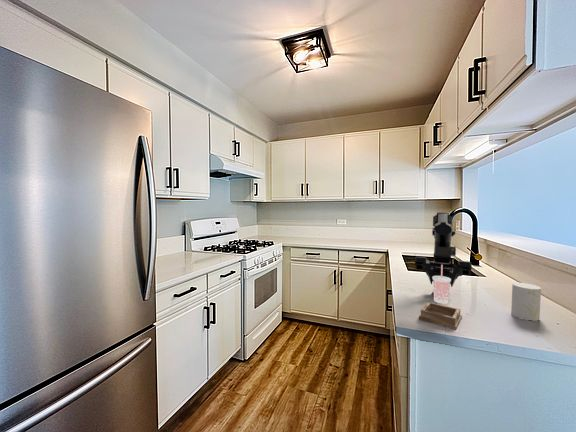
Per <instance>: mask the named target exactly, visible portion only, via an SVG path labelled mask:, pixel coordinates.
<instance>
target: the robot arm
mask: <svg viewBox="0 0 576 432" xmlns="http://www.w3.org/2000/svg"><path fill="white" fill-rule="evenodd" d="M449 213H450V212H447V211H445V212H444V211H437V212H436V214H435V215H433V216H432V217H433V218H432V226H433V227H432V229H431V230H432V231H431V234H432V235H431V236H432V237H433V238H434V248H433V249H434V250H433V251H434V252H433V261H431V260H429V259H427V257H425V256H423V257H422V256H416V257H415V259H414V267H415V270H418V271H419V270H420V271H422V272H423V273H425V274H426V276H427V277H428V280H429V282H430V284H431V285H433V279H432V277H433V276H441V265H443V273H442V276H445V277H449V278H451V282H450V287H451V288H452V287H453V286H454V285H455V282H456V281H457V280H458V278H459V277H462V276H463V275H464V276H471V274H472V268H473V267H472V266H473V265H472V262H470V261H467V260H466V261H465V260H458V263H452V257H455V256H456V255H457V252H456V251H457V248H456V246H451V243H452V237H454V236H455V235H456V231H455V230H454V228H452V227H453V217H452V215H450V214H449ZM431 295H433V296H434V290H433V291H432V292H431ZM449 295H450V292H449Z"/></svg>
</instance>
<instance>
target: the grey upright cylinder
mask: <svg viewBox="0 0 576 432" xmlns="http://www.w3.org/2000/svg"><path fill="white" fill-rule="evenodd" d="M511 288H512V289H511V310H510V313H511V316H513V317H515V316H516V317H515V318H517V317H518V318H517V319H520V318H521V319H520V320H523V319H525V320H524V321H528V320H532V321H531V322H538V321H537V320H539V319H541V300H542V299H541V298H542V288H541V287H540V286H539V285H535V284H531V283H527V282H512V287H511ZM539 321H540V320H539Z"/></svg>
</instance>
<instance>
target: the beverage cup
mask: <svg viewBox="0 0 576 432" xmlns="http://www.w3.org/2000/svg"><path fill="white" fill-rule="evenodd" d="M442 273H443V265H441V276H433V277H432V279H433V282H432V285H433V291H434V295H433V301H434V302H435V303H436V304H441V305H444V304H448V303H449V297H450V294H449V293H450V289H451V288H450V287H451V284H450V282H451V278H449V277H445V276H442Z"/></svg>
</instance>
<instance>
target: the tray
mask: <svg viewBox="0 0 576 432" xmlns="http://www.w3.org/2000/svg"><path fill="white" fill-rule="evenodd" d="M462 319H463V315H462V314H461V308H457V307H453V306H447V305H444V304H440V303H436V302H435V303H434V302H430V301H428V302H427V303H425V305H424V306H423V307H422V308H421V310H420V315H419V316H418V320H419V321H423V322H426V323H430V324H433V325H437V326H441V327H444V328H445V327H446V328H448V329H449V328H450V329H452V330H457V329H458V327H459V325H460V323H461V322H462Z"/></svg>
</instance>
